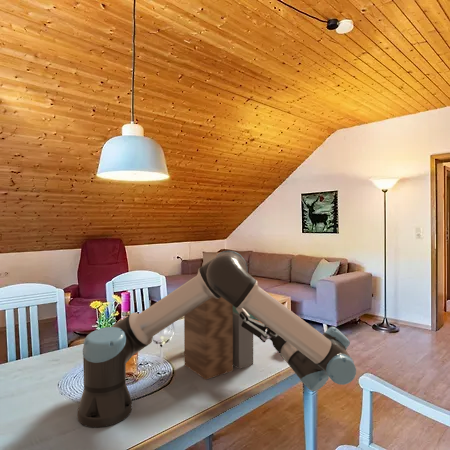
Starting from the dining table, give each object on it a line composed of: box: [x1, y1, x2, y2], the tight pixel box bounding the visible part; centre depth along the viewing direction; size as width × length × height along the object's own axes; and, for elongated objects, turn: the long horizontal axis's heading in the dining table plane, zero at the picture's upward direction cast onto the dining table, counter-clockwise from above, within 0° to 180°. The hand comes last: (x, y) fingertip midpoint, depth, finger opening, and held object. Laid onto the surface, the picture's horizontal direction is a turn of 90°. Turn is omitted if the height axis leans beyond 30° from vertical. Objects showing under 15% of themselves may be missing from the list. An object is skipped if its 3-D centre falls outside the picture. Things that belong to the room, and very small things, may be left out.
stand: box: [183, 297, 234, 380], centre depth 133 cm, size 12×15×30 cm
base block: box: [233, 312, 254, 369], centre depth 140 cm, size 7×12×20 cm, turn 36°
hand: (252, 303), depth 132 cm, fingers open, 13 cm apart
